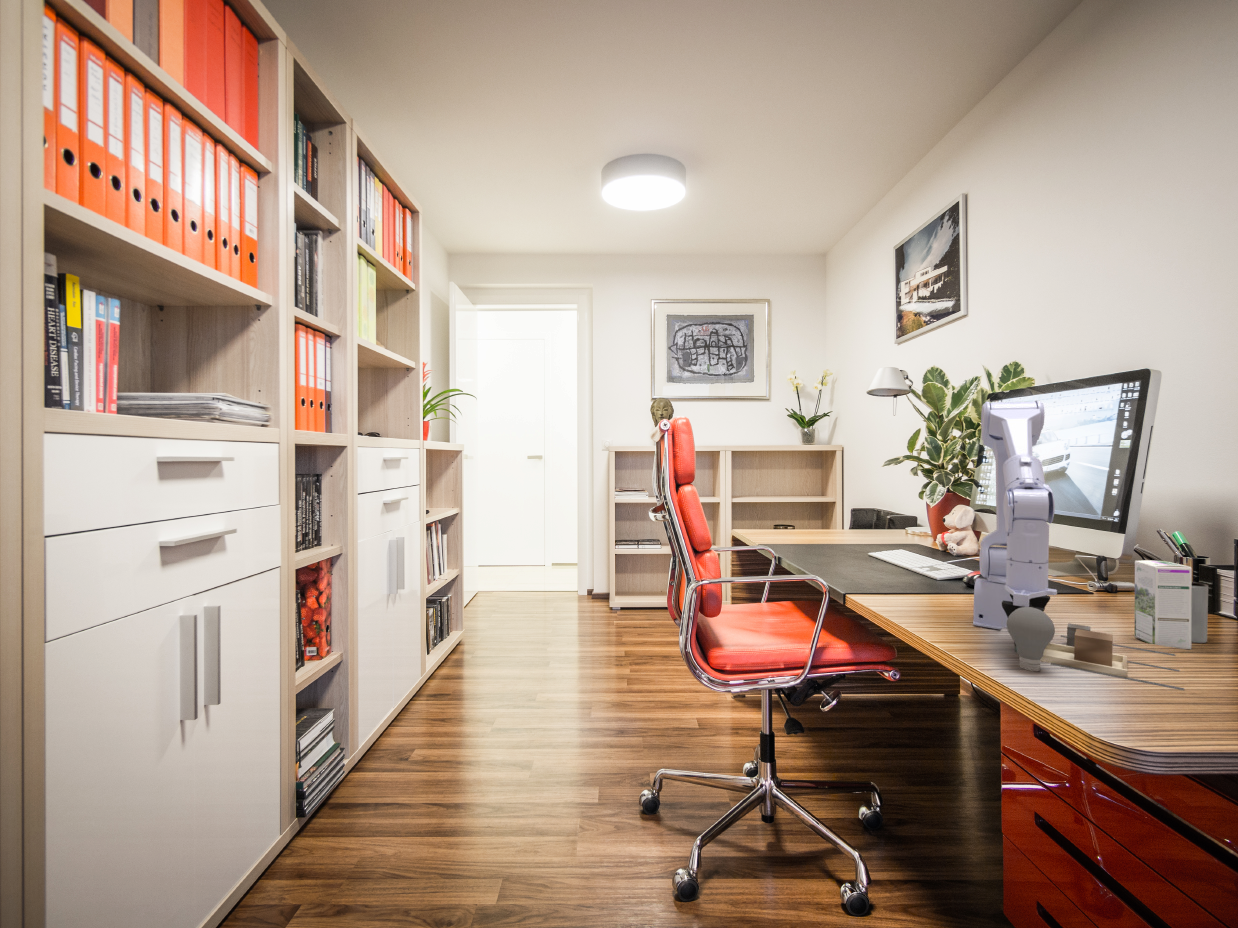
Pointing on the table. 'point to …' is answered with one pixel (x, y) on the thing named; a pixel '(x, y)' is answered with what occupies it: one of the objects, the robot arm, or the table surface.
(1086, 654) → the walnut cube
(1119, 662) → the cream sliding tray
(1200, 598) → the grey cylinder
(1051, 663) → the lane rails
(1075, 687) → the table surface
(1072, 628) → the cream flat panel
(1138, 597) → the syrup box
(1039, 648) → the light bulb
